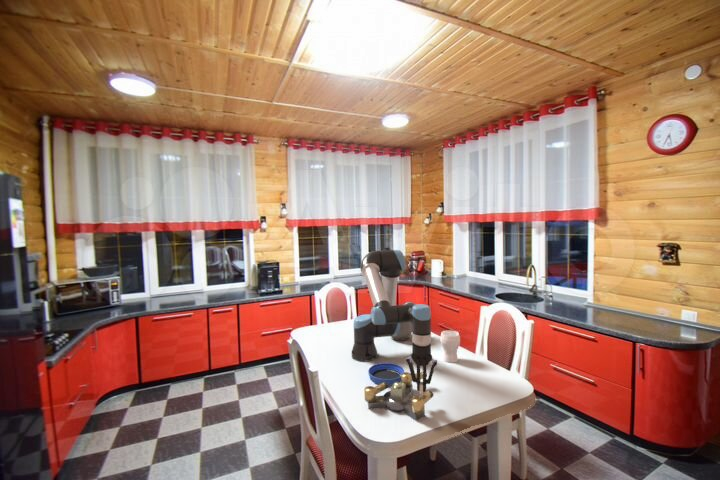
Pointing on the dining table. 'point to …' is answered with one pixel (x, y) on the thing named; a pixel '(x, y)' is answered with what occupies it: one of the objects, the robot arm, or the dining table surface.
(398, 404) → the tribrach
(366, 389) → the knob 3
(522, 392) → the dining table surface
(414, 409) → the brass lever handle
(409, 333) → the planter
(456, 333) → the cup
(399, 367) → the bowl
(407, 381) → the brass tap handle
